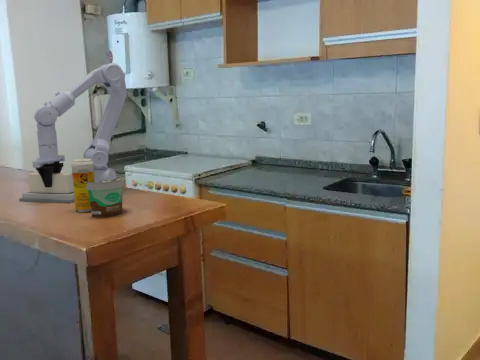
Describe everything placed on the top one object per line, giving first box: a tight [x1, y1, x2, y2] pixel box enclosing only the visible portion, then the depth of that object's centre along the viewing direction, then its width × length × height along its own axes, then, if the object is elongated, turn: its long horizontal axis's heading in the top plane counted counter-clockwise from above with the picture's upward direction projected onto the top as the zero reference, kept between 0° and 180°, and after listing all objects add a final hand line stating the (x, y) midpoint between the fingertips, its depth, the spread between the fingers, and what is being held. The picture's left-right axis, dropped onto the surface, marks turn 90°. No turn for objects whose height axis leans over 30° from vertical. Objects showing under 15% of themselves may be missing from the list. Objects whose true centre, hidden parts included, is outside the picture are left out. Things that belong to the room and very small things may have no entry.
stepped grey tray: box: [18, 190, 75, 204], centre depth 161 cm, size 18×9×2 cm, turn 77°
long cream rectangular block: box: [27, 172, 74, 194], centre depth 161 cm, size 14×3×6 cm, turn 77°
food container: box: [86, 175, 126, 218], centre depth 140 cm, size 12×6×10 cm, turn 148°
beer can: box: [71, 158, 95, 213], centre depth 144 cm, size 6×6×15 cm
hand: (51, 186), depth 161 cm, fingers closed on long cream rectangular block, 3 cm apart
